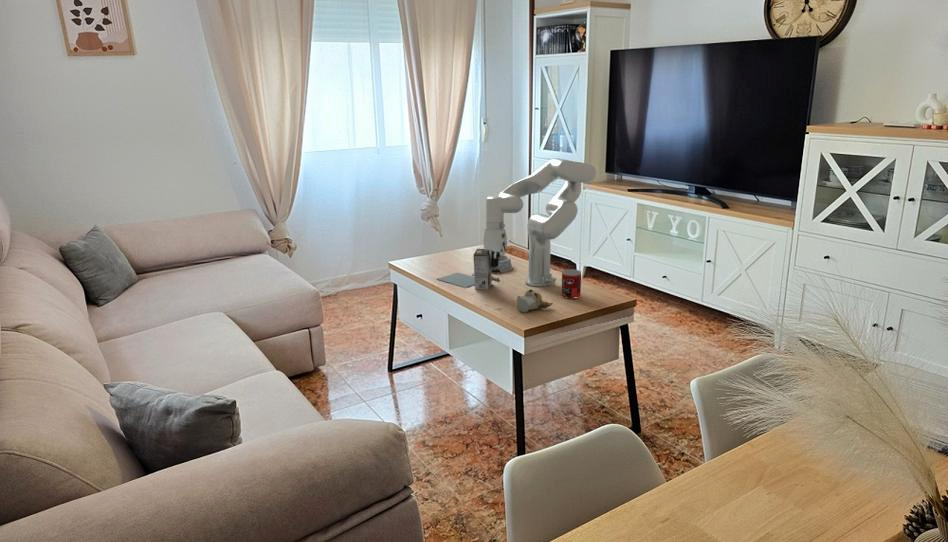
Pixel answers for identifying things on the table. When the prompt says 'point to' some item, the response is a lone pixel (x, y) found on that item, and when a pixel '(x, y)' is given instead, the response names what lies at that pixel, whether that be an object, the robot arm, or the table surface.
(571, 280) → the canned food
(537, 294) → the ceramic sculpture
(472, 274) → the turner
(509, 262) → the dog bowl
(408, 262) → the table surface
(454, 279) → the mat
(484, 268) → the coffee box
